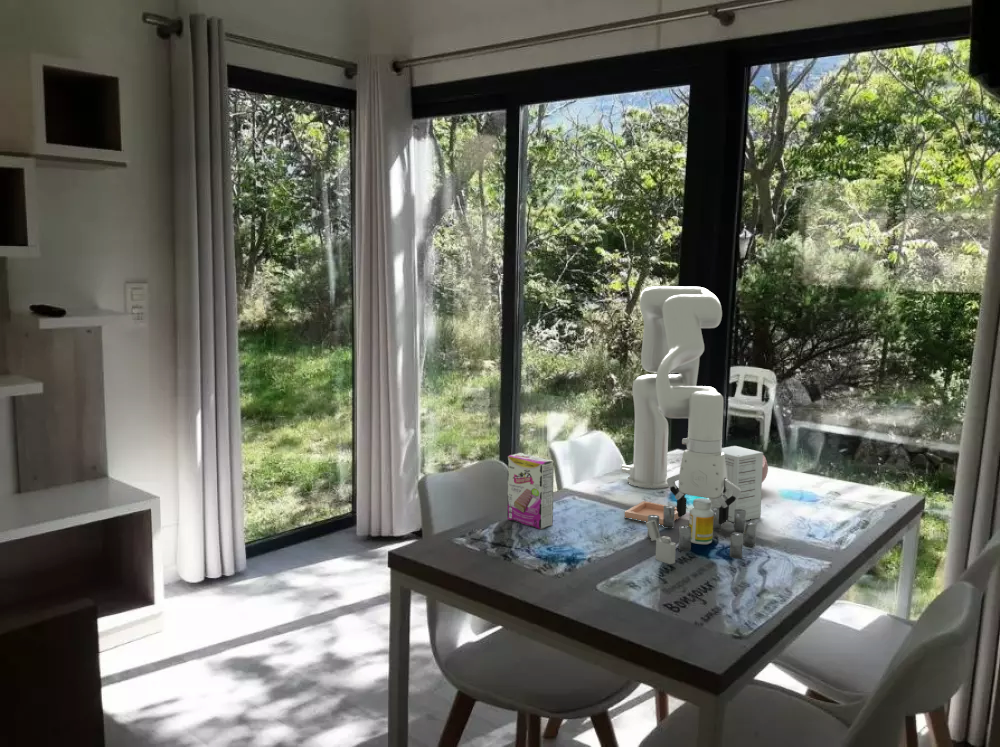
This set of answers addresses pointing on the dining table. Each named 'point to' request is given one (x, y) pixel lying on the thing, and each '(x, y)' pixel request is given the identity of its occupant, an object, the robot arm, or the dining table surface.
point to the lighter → (661, 544)
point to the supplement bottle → (701, 521)
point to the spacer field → (735, 540)
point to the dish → (648, 511)
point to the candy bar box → (530, 490)
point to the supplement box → (743, 481)
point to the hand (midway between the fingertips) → (701, 519)
